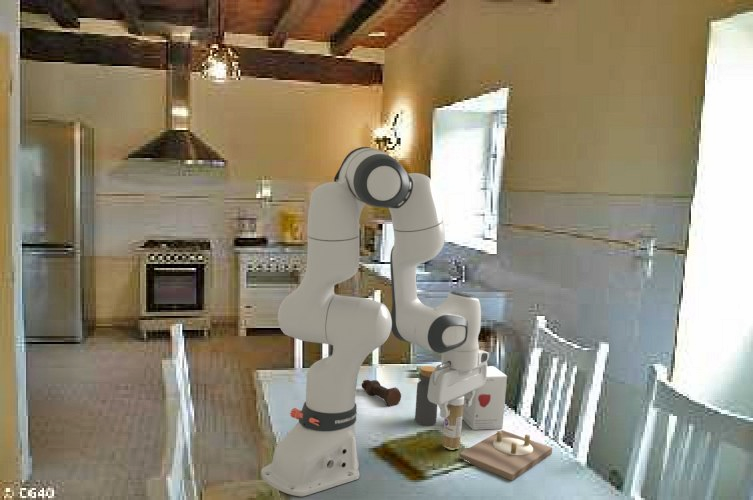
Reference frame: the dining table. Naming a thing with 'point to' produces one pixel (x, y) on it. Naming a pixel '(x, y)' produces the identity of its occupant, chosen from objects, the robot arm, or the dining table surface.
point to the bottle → (425, 399)
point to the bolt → (382, 392)
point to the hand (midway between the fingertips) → (456, 411)
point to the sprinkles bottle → (453, 423)
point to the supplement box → (487, 402)
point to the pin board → (506, 454)
